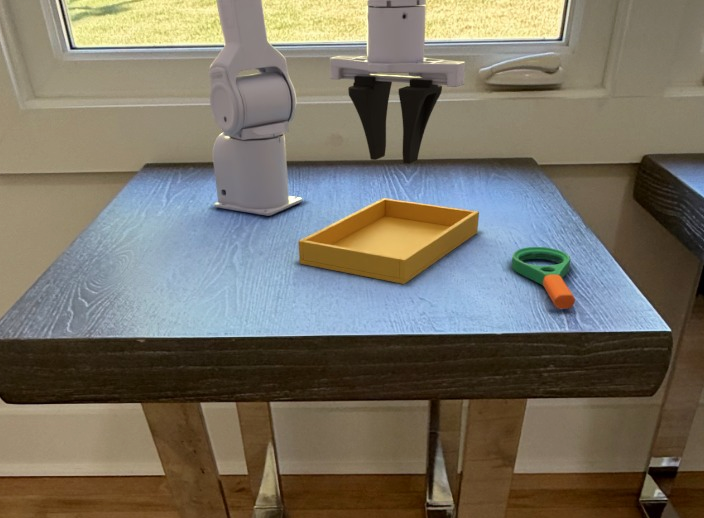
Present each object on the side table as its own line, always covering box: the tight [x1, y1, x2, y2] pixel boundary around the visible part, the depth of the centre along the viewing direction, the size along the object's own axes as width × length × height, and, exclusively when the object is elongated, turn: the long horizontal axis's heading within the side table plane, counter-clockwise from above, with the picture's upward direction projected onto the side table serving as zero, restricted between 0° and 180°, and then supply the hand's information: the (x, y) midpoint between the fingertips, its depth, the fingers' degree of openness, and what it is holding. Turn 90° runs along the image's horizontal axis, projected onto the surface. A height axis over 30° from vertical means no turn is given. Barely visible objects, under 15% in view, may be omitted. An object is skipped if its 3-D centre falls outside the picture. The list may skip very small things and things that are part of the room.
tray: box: [297, 197, 480, 285], centre depth 82 cm, size 13×19×2 cm
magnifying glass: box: [511, 246, 576, 310], centre depth 72 cm, size 15×6×2 cm, turn 179°
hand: (393, 159), depth 76 cm, fingers open, 3 cm apart
